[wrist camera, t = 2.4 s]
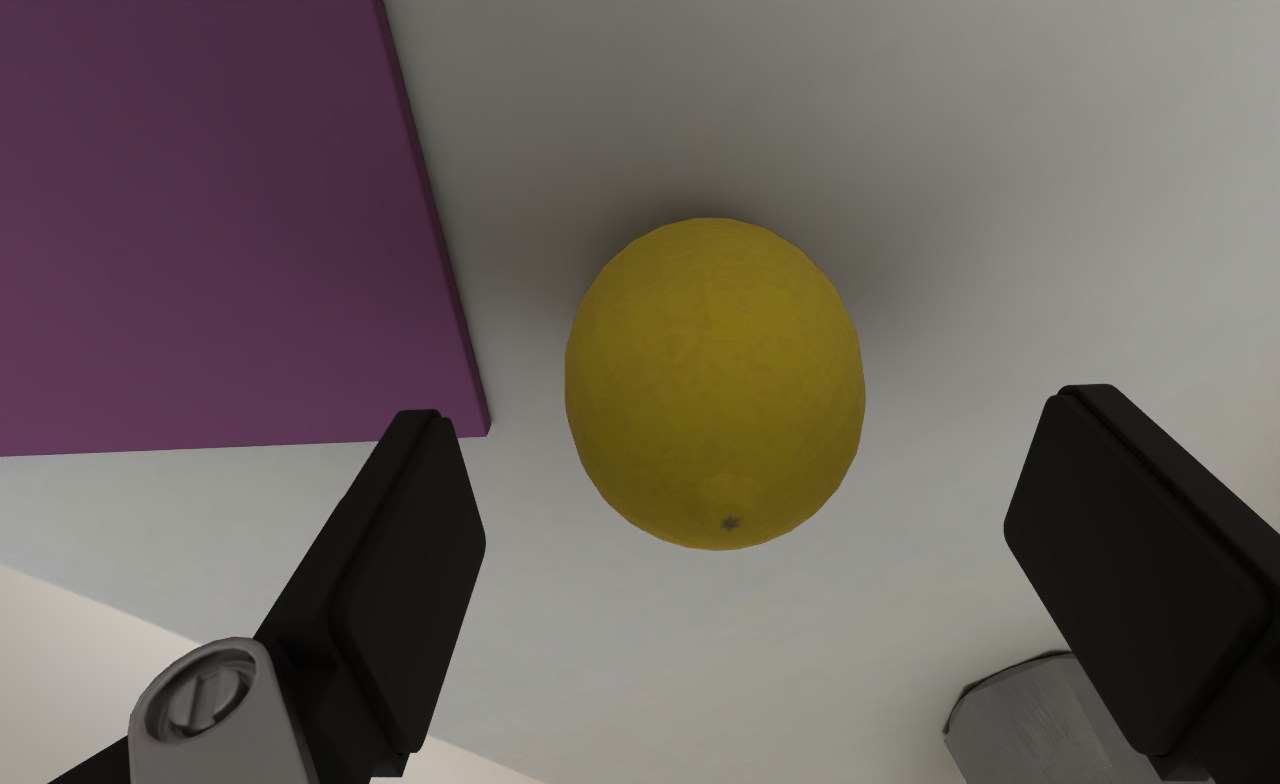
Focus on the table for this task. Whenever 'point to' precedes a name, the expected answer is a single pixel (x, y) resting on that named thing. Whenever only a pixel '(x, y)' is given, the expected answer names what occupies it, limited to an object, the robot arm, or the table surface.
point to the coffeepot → (1043, 731)
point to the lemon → (714, 384)
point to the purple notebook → (216, 231)
